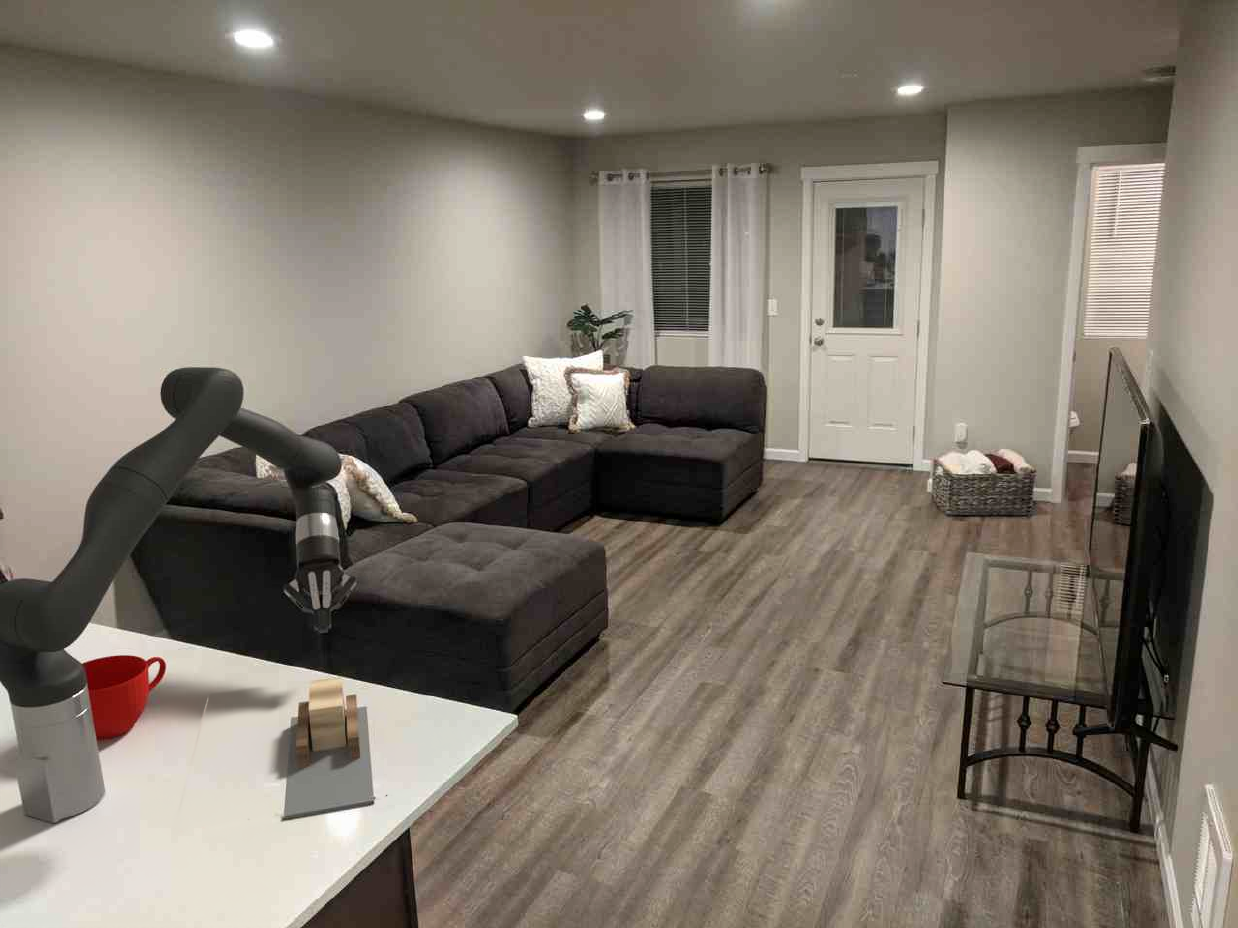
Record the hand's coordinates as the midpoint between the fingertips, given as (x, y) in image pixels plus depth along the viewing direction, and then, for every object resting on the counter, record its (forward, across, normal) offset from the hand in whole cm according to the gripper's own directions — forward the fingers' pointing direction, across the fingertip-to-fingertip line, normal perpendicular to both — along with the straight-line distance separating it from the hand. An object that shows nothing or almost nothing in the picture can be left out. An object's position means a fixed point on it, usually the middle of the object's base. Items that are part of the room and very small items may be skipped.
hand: (323, 631), depth 164 cm
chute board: (+25, 0, -10) cm, 27 cm away
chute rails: (+21, 0, -6) cm, 22 cm away
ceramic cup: (+10, -32, +6) cm, 34 cm away
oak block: (+20, 0, -5) cm, 20 cm away
